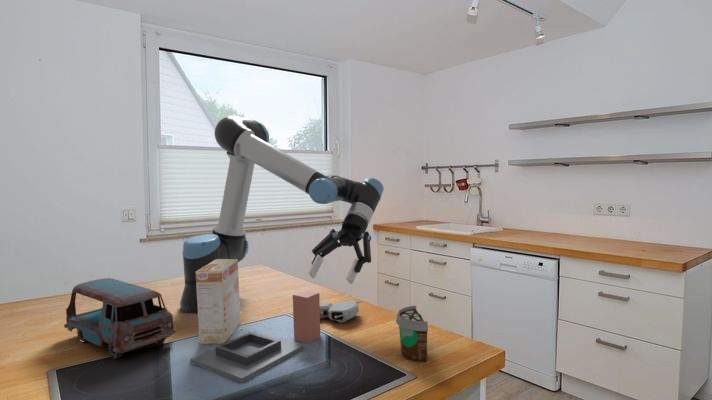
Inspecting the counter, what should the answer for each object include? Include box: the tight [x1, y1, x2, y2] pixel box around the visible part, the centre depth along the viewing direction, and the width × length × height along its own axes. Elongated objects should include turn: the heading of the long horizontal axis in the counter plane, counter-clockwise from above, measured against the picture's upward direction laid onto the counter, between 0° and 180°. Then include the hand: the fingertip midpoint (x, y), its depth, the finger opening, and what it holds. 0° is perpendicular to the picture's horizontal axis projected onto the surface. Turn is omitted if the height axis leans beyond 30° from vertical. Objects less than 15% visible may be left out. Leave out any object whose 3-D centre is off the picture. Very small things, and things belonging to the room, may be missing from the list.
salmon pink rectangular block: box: [292, 289, 321, 343], centre depth 113 cm, size 5×5×12 cm
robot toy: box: [320, 300, 362, 324], centre depth 129 cm, size 12×4×15 cm
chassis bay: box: [189, 330, 305, 384], centre depth 103 cm, size 18×20×3 cm
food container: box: [395, 305, 429, 363], centre depth 102 cm, size 12×6×10 cm, turn 5°
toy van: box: [63, 277, 177, 360], centre depth 114 cm, size 16×32×15 cm, turn 54°
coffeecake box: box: [195, 259, 242, 345], centre depth 118 cm, size 15×7×20 cm, turn 178°
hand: (329, 278), depth 121 cm, fingers open, 13 cm apart
